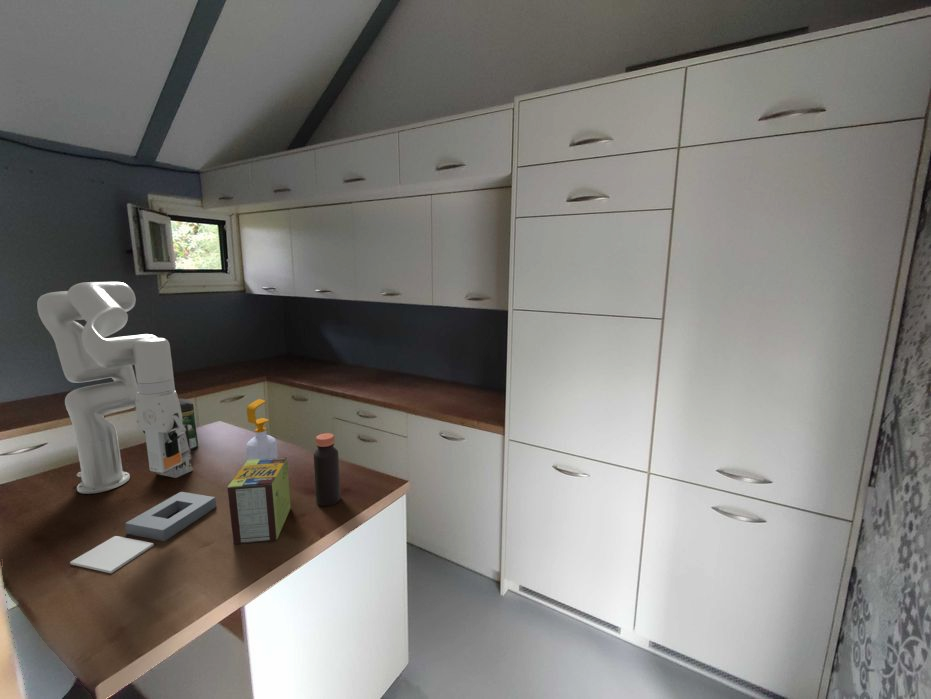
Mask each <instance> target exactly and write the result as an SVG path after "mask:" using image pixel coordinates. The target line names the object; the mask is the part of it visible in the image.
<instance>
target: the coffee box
mask: <svg viewBox="0 0 931 699" xmlns="http://www.w3.org/2000/svg"><path fill="white" fill-rule="evenodd" d="M183 425H184V427H185V428H186V431H185V432H184V433H182V434H181V436H180V437H179V439H180V448H181V457H182V463H181V464H179V465H177V466H175V467H173V468H171V469H169V470H167V471H165V472H163V473H161V472H156V475H159V476H165V477H170V478H174V479H177V478H179V477H181V476H184V475H185V474H188V473H190V472H193V470H194V468H193V459H192V452H191V450H192V449H191V450H190V442H189V433H188V425H185V424H183Z"/></svg>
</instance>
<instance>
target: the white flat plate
mask: <svg viewBox="0 0 931 699" xmlns="http://www.w3.org/2000/svg"><path fill="white" fill-rule="evenodd" d="M154 544H155V543H154V542H149V541H145V540H140V539H139V540H138V539H135V538H134V539H133V538H129V537H128V538H127V537H123V536H118V535H115V536H112V537H110V538H109V539H107V540H105V541H103V542H102V543H100V544H98V545H96V546H95V547H93V548H92V549H90V550H88V551H86V552H84V553H83V554H81V555H80V556H78V557H77V558H74V559H73V560H71V561H70V562H69V564H70V565H71V566H76V567H81V568H84V569H85V568H86V569H90V570H95V571H99V572H103V573H108V574H113V573H114V572H116V571H117V570H119V569H120V568H122V567H123V566H125V565H126V564H128V563H130V562H131V561H133V560H134V559H136V558H137V557H139V556H140V555H141V554H143V553H144V552H146V551H147V550H149V549H151V548H152V547H154V546H155V545H154Z"/></svg>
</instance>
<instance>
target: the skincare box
mask: <svg viewBox="0 0 931 699" xmlns="http://www.w3.org/2000/svg"><path fill="white" fill-rule="evenodd" d="M169 433H170V436H171V435H172V434H173V433H172V432H169ZM144 435H145V441H146V442H145V443H146V444H145V445H146V450H147V458H148V466H149V471H150V472H155V473H157V472H161V473H163V472H165V471H167V470H169V469H171V468H173V467H175V466H177V465H179V464H181V463H182V457H181V448H180V439H178V447H179V453H178V454H176V455H173V456H171V457H166V450H165V443H166V442H167V441H166V438H165V435H164V433H159V432H157V430H155V429H151V428H145V434H144Z"/></svg>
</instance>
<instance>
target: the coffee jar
mask: <svg viewBox="0 0 931 699" xmlns="http://www.w3.org/2000/svg"><path fill="white" fill-rule="evenodd" d="M178 399H179V403H180V407H181V413H182V424H185V425H188V433H189V442H190V450H193V449H195V448H198V445H199V441H198V432H197V426H196V425H197V424H196V418H195V416H196V415H195V407H194V406H195V405H194V403H193V402H192V401H191V400H190V399H189V400H188V399H187V398H186V399H185V398H178Z"/></svg>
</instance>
